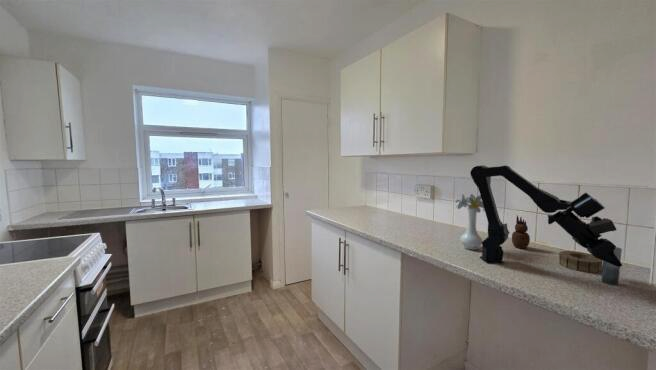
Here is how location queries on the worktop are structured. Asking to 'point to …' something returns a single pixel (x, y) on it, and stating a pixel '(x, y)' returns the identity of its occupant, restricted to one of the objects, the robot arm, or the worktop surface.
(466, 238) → the flower vase
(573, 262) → the segmented wooden ring
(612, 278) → the tall steel post
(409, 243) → the worktop surface
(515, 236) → the wooden figurine
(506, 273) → the worktop surface
